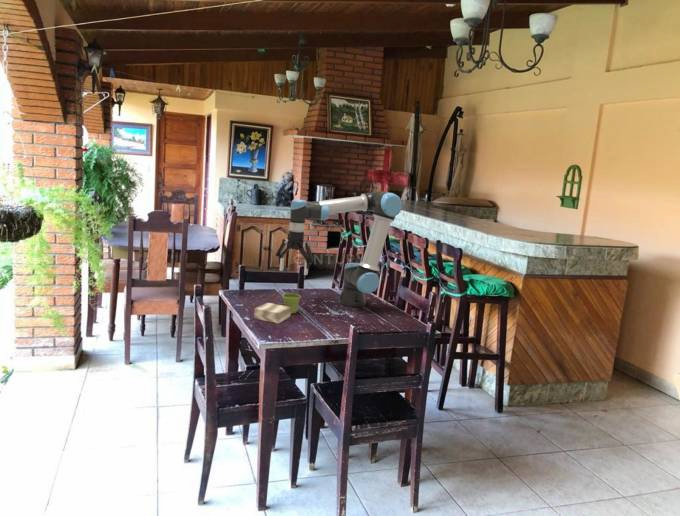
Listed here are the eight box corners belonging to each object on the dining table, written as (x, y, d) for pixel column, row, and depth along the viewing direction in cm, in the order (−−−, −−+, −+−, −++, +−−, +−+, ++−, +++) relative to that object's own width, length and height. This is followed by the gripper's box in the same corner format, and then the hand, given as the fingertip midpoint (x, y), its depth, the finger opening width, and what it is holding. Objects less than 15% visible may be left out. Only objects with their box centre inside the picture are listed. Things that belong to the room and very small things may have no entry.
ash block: (290, 316, 261) (290, 307, 260) (277, 323, 249) (278, 313, 248) (267, 312, 266) (267, 302, 265) (253, 318, 254) (254, 308, 253)
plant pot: (296, 315, 264) (298, 299, 262) (278, 313, 266) (280, 296, 264) (301, 311, 273) (303, 294, 272) (284, 308, 275) (285, 292, 273)
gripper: (270, 228, 263) (268, 269, 266) (316, 234, 254) (313, 277, 258) (277, 227, 270) (275, 267, 273) (322, 233, 261) (319, 275, 265)
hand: (293, 272), depth 266 cm, fingers open, 13 cm apart
